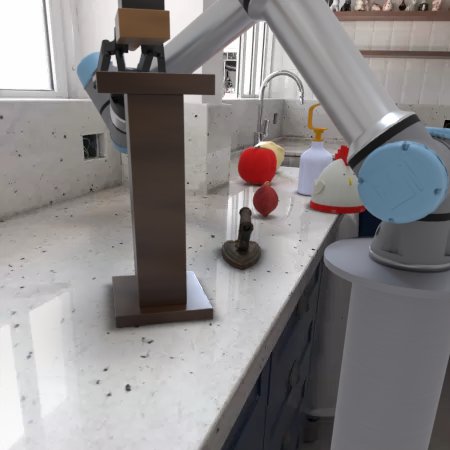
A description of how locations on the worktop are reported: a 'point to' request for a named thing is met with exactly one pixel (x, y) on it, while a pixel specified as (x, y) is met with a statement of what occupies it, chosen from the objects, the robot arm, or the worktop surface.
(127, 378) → the worktop surface
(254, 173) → the tomato
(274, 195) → the onion
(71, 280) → the worktop surface
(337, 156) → the kitchen timer
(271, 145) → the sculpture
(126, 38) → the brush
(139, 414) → the worktop surface
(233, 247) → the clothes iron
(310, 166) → the soap bottle
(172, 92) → the stand
